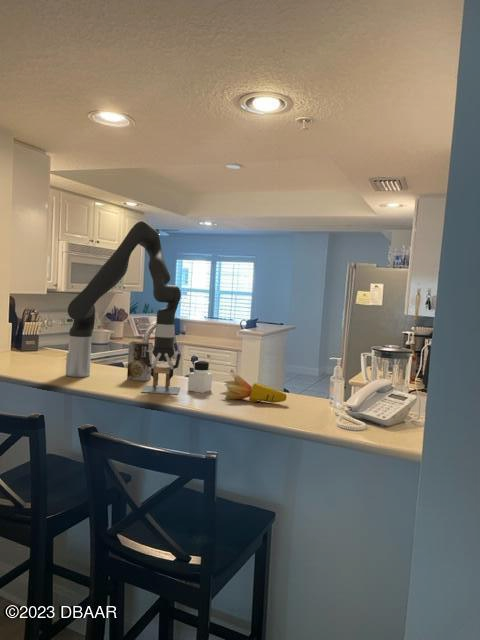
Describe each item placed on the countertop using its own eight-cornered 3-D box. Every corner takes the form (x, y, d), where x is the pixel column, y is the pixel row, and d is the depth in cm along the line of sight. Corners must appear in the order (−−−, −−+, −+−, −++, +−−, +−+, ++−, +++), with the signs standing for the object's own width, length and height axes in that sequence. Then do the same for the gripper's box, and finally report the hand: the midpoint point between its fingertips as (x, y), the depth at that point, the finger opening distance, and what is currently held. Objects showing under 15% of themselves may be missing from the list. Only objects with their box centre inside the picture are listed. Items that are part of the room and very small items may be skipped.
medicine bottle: (211, 390, 186) (213, 361, 185) (202, 393, 179) (204, 363, 178) (196, 387, 189) (198, 359, 188) (187, 390, 182) (189, 361, 181)
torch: (282, 415, 169) (218, 399, 173) (286, 401, 175) (224, 386, 180) (285, 399, 164) (219, 383, 169) (289, 385, 171) (225, 370, 175)
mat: (140, 392, 173) (140, 391, 172) (145, 386, 184) (145, 384, 184) (177, 394, 173) (177, 393, 173) (180, 388, 185) (180, 387, 185)
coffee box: (151, 378, 201) (153, 342, 200) (146, 381, 195) (149, 344, 194) (131, 376, 202) (133, 340, 201) (126, 379, 195) (128, 342, 195)
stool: (154, 384, 182) (155, 365, 181) (169, 385, 182) (171, 366, 182) (152, 388, 176) (153, 367, 175) (168, 389, 176) (169, 368, 176)
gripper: (183, 335, 182) (180, 377, 183) (147, 333, 181) (144, 375, 182) (182, 337, 174) (179, 380, 175) (144, 335, 174) (141, 378, 175)
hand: (161, 377), depth 179 cm, fingers closed on stool, 6 cm apart
